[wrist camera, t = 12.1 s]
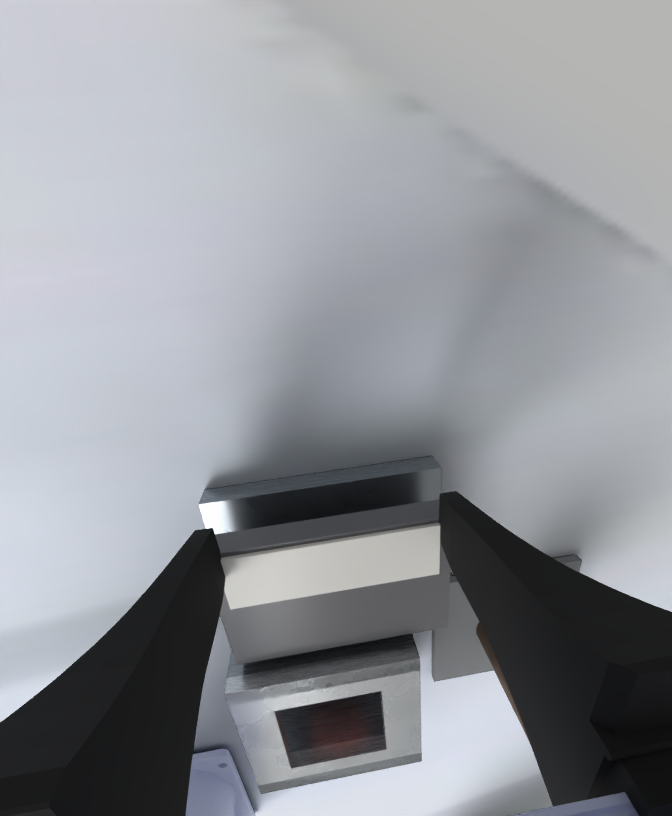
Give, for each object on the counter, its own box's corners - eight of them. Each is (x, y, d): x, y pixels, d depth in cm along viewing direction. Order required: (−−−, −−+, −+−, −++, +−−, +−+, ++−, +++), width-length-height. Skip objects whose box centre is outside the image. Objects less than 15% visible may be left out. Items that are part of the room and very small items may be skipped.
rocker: (439, 605, 16) (449, 630, 15) (240, 640, 15) (236, 668, 14) (441, 498, 14) (454, 518, 13) (206, 535, 13) (199, 559, 12)
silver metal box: (431, 669, 21) (460, 753, 18) (266, 700, 21) (261, 793, 17) (432, 455, 16) (475, 514, 12) (204, 489, 15) (175, 563, 11)
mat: (555, 651, 22) (560, 657, 22) (431, 674, 22) (434, 681, 21) (576, 554, 19) (581, 560, 19) (432, 579, 19) (434, 585, 18)
